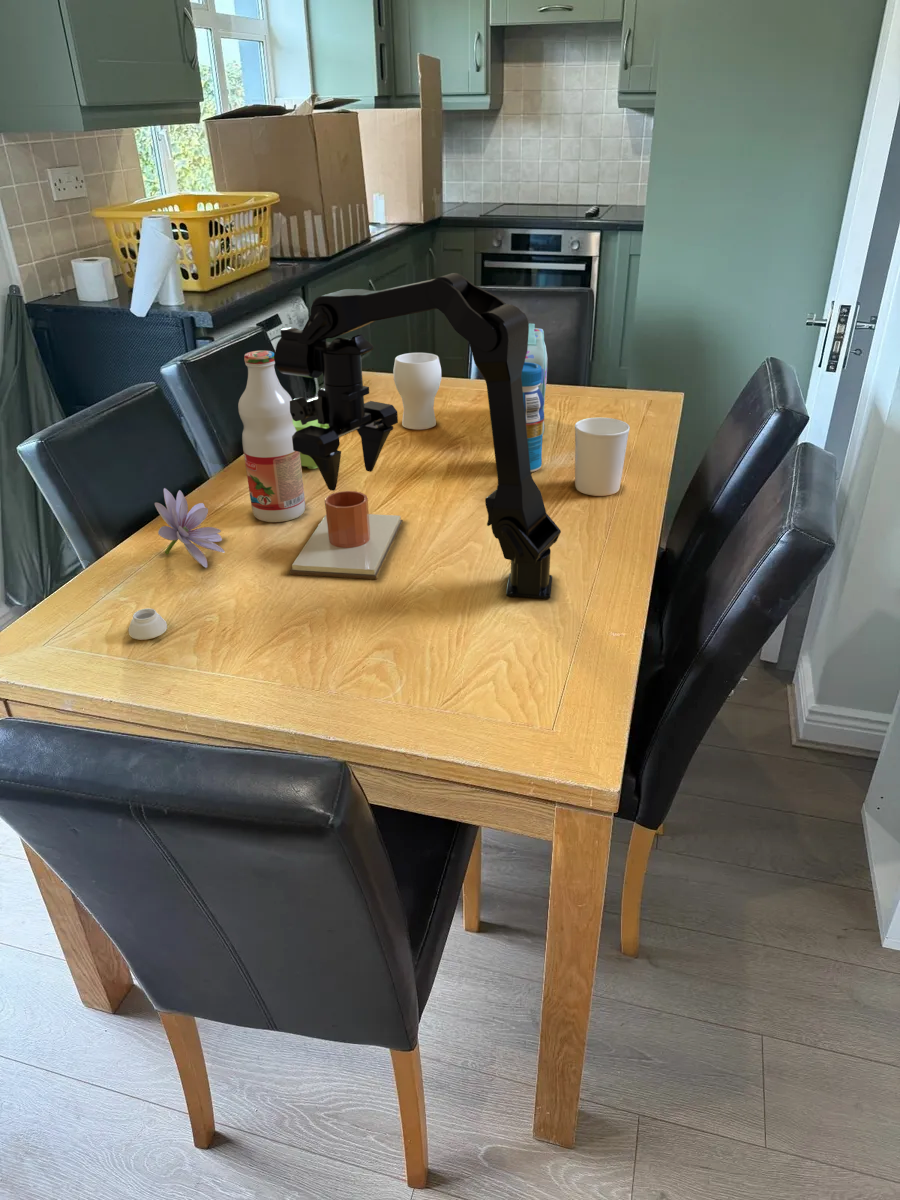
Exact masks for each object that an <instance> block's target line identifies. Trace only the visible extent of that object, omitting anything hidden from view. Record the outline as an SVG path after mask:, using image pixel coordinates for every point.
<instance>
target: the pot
mask: <svg viewBox="0 0 900 1200" xmlns="http://www.w3.org/2000/svg"><path fill="white" fill-rule="evenodd" d="M324 508H325V515H326V520H327V530H328V538H329V542H330V544H332V545H334V546H336V547H341V548H353V547H358V546H361V545H364V544H366V543H367V542H368V541H369V540H370V524H369V514H370V513H369V498H368V496H367V494H365V493H363V492H360V491H356V490H343V491H342V490H341V491H337V492H333V493H330V494H329V495H327V496H326V497H325V498H324Z"/></svg>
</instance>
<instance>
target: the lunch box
mask: <svg viewBox="0 0 900 1200" xmlns="http://www.w3.org/2000/svg"><path fill="white" fill-rule="evenodd" d="M525 362H529V363H535V364H538V365H540V366H541V369H542V378H541V384H540V385H539V386H538V388H539V389H540V391H541V393H542V395H543V398H544V403H545V397H546V390H547V389H546V388H547V382H548V380H547V379H548V353H547V345H546V343H545V331H544V329H543V328H537V327H536V324H535V323H529V334H528V349H527V354H526V358H525ZM542 409H543V411H544V412H545V404H544V405H543V407H542ZM544 433H545V420H544V421H543V434H544Z"/></svg>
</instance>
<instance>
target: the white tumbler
mask: <svg viewBox="0 0 900 1200" xmlns="http://www.w3.org/2000/svg"><path fill="white" fill-rule="evenodd" d="M630 430H631V427H630V425H629V423H627V422H626V421H623V420H621V419H617V418H613V417H602V416H601V417H599V416H598V417H597V416H596V417H588V418H582V419H580V420H578V421H576V422H575V423H574V487H575V489H576V490H577V491H578V492H580V493H582V494H584V495H588V496H594V497H606V496H611V495H614V494H616V493H618V492H619V490H620V489H621V483H622V478H623V473H624V465H625V460H626V453H627V446H628V440H629V434H630Z"/></svg>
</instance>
